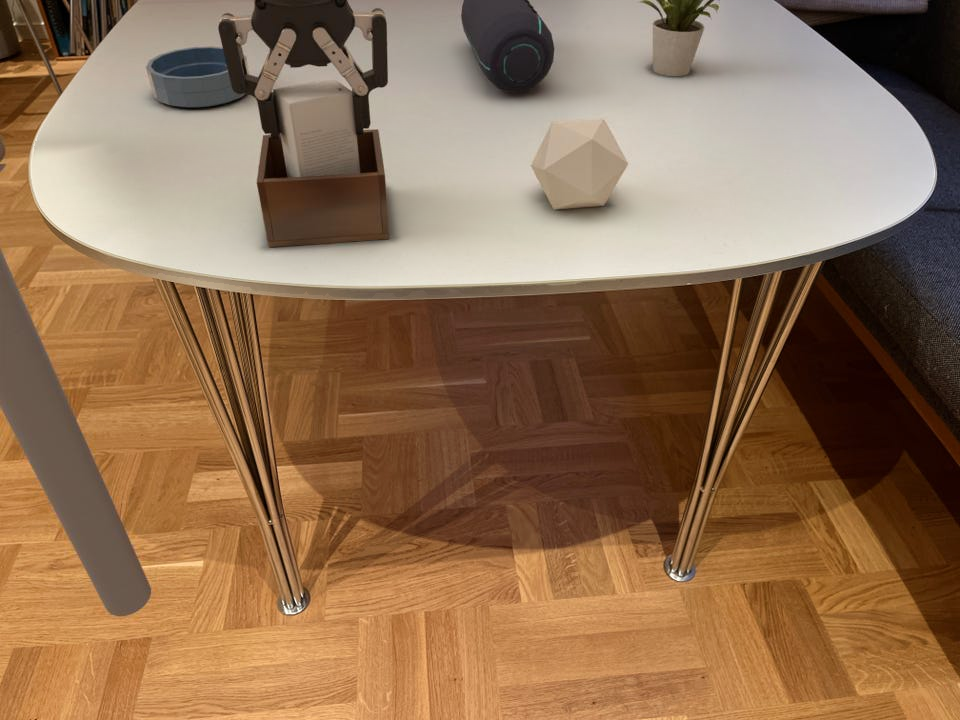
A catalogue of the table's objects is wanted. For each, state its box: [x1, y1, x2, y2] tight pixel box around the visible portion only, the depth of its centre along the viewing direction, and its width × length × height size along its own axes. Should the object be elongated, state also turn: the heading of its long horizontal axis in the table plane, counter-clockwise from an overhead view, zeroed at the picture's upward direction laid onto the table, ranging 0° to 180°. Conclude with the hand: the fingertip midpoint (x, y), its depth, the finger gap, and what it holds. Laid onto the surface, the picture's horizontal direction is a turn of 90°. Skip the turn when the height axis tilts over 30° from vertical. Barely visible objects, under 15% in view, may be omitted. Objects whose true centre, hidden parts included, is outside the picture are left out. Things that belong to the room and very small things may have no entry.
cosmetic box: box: [272, 77, 360, 178], centre depth 72 cm, size 6×4×12 cm
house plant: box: [637, 0, 720, 77], centre depth 105 cm, size 14×14×16 cm
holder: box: [256, 128, 390, 248], centre depth 74 cm, size 11×10×7 cm
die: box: [530, 118, 629, 211], centre depth 77 cm, size 8×9×10 cm
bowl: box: [145, 45, 250, 109], centre depth 100 cm, size 12×12×4 cm
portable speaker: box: [460, 0, 555, 93], centre depth 106 cm, size 25×10×10 cm, turn 9°
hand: (317, 134), depth 70 cm, fingers closed on cosmetic box, 7 cm apart
